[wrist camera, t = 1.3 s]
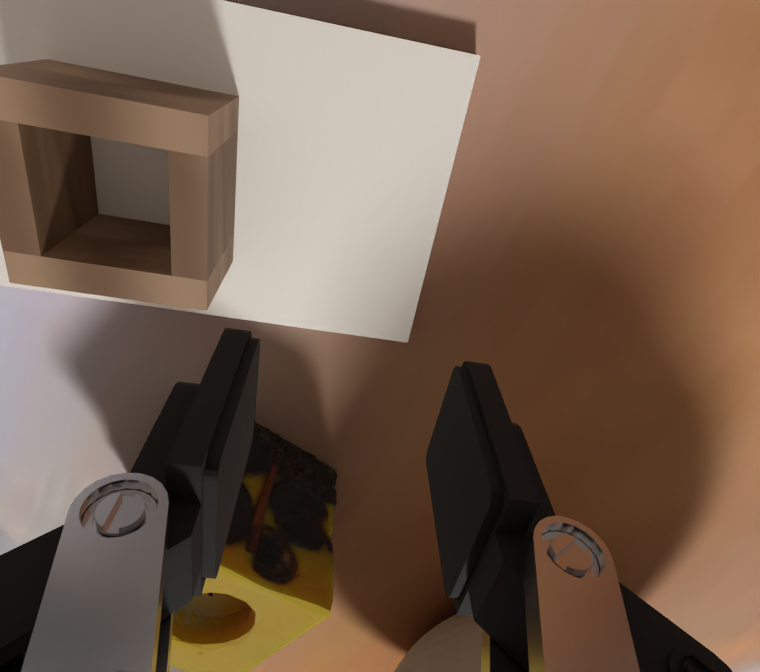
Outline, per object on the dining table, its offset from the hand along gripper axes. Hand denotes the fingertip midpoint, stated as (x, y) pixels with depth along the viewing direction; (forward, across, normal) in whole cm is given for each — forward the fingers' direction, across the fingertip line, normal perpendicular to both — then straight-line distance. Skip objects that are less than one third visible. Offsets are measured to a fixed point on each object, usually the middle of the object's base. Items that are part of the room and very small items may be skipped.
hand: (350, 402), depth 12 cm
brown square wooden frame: (+14, +9, 0) cm, 17 cm away
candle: (+16, +5, +20) cm, 26 cm away
